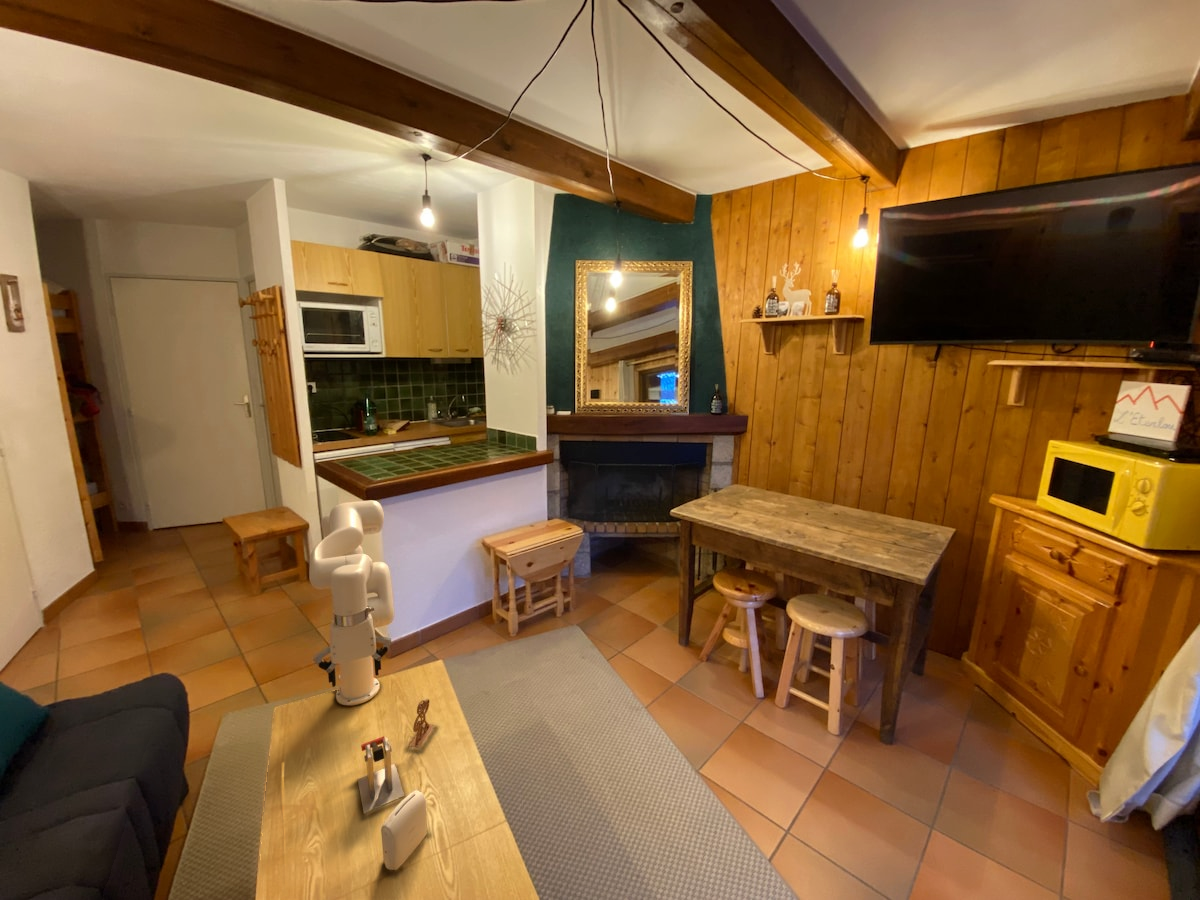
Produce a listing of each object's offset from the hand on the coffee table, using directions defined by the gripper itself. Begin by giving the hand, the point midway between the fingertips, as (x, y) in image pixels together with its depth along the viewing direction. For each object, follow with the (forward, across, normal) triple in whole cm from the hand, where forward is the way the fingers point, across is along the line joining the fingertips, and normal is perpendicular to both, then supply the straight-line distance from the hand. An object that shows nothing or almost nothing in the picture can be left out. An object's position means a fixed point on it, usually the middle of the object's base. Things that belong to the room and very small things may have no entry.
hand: (355, 677), depth 121 cm
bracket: (+28, -4, +8) cm, 29 cm away
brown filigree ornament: (+28, -16, -5) cm, 32 cm away
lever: (+20, -3, +4) cm, 20 cm away
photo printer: (+28, -8, +26) cm, 40 cm away
